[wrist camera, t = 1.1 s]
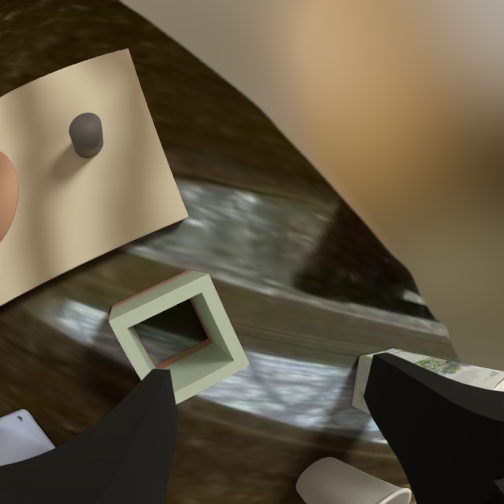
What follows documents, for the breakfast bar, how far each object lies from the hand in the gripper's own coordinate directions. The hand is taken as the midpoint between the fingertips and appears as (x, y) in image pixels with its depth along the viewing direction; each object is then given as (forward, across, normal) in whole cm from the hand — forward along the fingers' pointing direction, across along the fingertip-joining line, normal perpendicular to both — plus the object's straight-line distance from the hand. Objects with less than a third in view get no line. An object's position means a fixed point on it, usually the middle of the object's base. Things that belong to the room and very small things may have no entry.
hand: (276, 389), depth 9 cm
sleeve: (+10, +5, +2) cm, 11 cm away
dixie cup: (+10, -7, +22) cm, 25 cm away
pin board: (+9, +14, -8) cm, 19 cm away
